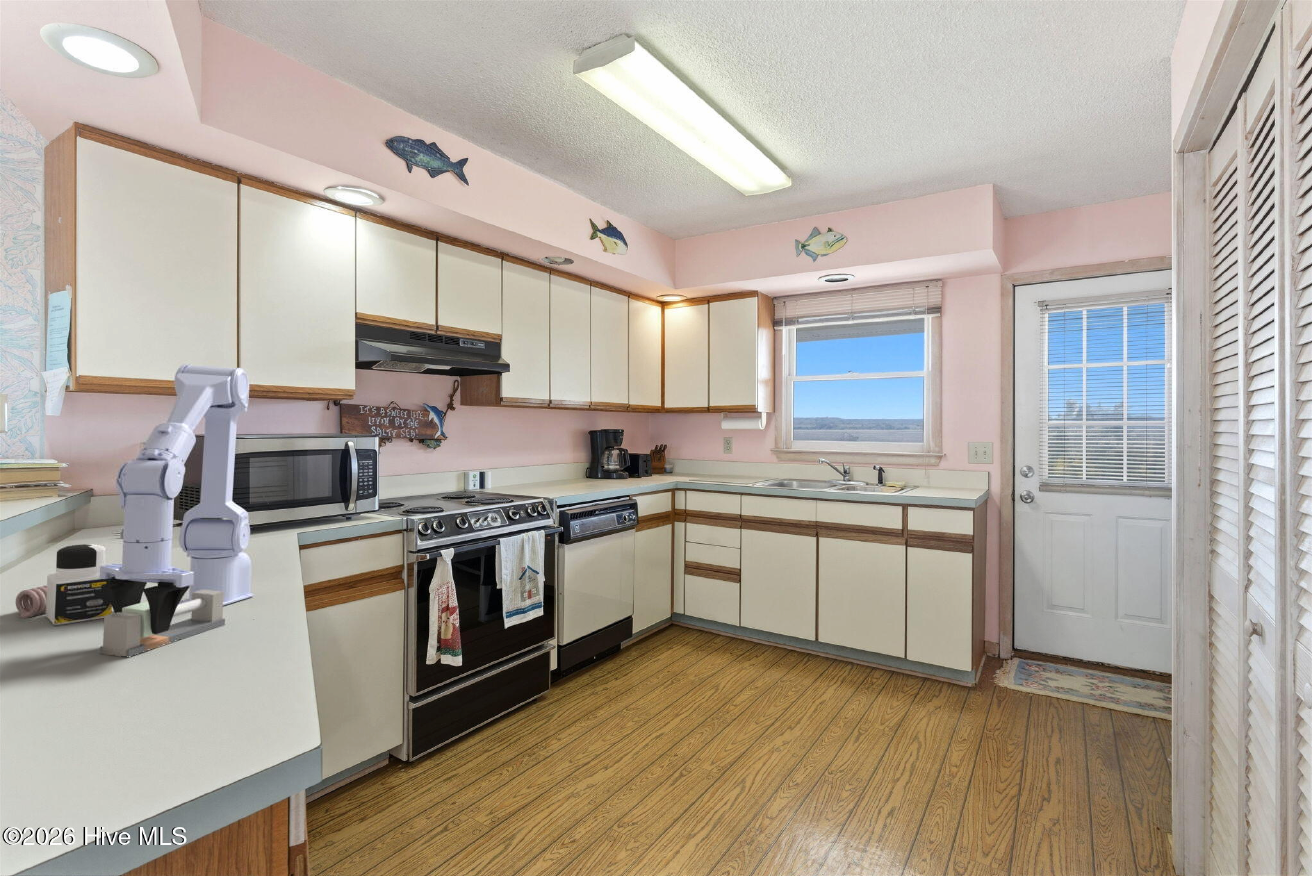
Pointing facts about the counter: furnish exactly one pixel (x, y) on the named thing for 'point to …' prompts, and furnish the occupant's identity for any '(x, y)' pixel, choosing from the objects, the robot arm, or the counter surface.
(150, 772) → the counter surface
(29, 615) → the coil
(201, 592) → the rod with sliding collar
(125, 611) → the sleeve
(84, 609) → the medicine bottle
